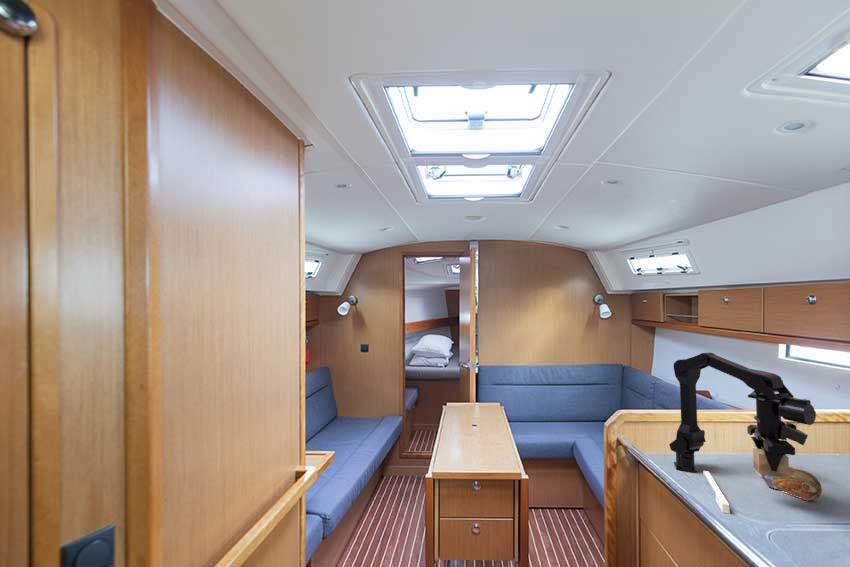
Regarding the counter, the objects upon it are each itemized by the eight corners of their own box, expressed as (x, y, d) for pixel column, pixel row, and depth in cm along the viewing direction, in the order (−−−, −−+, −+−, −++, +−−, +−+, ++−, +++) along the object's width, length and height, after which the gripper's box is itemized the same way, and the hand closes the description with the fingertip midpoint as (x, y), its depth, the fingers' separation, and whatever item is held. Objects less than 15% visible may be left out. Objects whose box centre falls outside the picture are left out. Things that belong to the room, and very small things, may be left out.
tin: (760, 484, 134) (759, 458, 134) (766, 482, 135) (765, 457, 135) (818, 506, 119) (817, 477, 120) (824, 504, 121) (823, 475, 121)
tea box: (759, 474, 120) (758, 453, 121) (753, 467, 125) (752, 448, 125) (789, 478, 118) (788, 457, 118) (782, 471, 122) (781, 451, 122)
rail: (702, 477, 138) (702, 470, 138) (709, 478, 137) (708, 471, 138) (721, 512, 116) (721, 503, 116) (729, 513, 115) (729, 504, 116)
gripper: (818, 427, 110) (820, 485, 110) (789, 410, 127) (791, 460, 127) (767, 423, 115) (769, 478, 114) (745, 406, 132) (747, 454, 131)
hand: (770, 467), depth 121 cm, fingers closed on tea box, 5 cm apart
